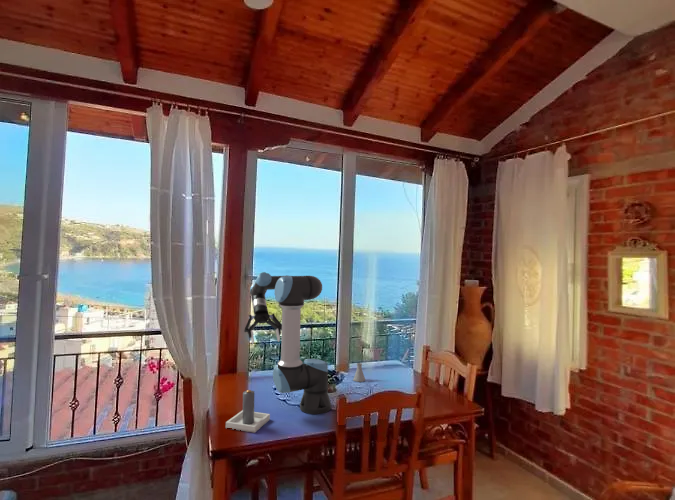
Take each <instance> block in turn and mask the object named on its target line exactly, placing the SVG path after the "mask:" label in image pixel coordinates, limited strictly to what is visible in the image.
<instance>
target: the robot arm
mask: <svg viewBox="0 0 675 500" xmlns="http://www.w3.org/2000/svg"><path fill="white" fill-rule="evenodd" d="M249 288H250V290H249V291H250V293H249V294H250V297H251V303H252V308H253V315H252V314H249V315H248V320H247V323H246V325H245V327H244V330H243V332H244V333H247V334H248V335H247V336H248V338H250V340H251V345H253V344H254V342H255V340H254V339H255V337H254V332H253V330H254V329H255V327H256V326H257V325H258V324H260V325H261V324H267V325H269V326H271V327H272V328H273V329H275V335H276V339H277V342H278V343H280V341H281V345H280V347H281V349H280V350H281V351H280V352H281V353H280V360H278V361H277V367H274V368H273V370H272V378H273V383H274V386H275V388H276V390H277V391H278V392H279V393H280V394H286V393H288V394H289V393H294V392H299V391H303V394H302V397H301V400H300V402H299V410H300V411H301V412H302V413H305V414H311V415H321V414H326V413H327V412H329V411H331V409H332V402H331V398H330V395H329V392H328V383H329V381H328V380H329V377H328V376H329V367H328V363H327V361H325V360H321V359H318V358H317V359H316V358H305V359H304V361H302V360H301V358H300V353H301V351H300V349H301V348H300V347H301V311H302V310H301V309H302V308H303V307H304V305H305V301H312V300H315V299H316V298H317V297H319V296H320V295H321V293H322V291H323V283H322V281H321V280H320V278H318V277H316V276H314V275H271V274H270V272H269V273H268V272H266V271H263V272H260V273H258V275H257V277H256V279H255V283H253V284H252V285H251V286H250V287H249ZM269 290H272V291H273V290H274V292H273V293H274V299H275V301H276V302H278V306H280V308H281V311H282V312H281V322H280V321H279V319H278V318H277V317H276V315H275V313H272V314H269V310H268V304H267V299H266V293H267V291H269ZM253 320H255V321H254V322H253V323H252V324H251V322H252V321H253ZM249 326H250V327H249Z"/></svg>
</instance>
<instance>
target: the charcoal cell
mask: <svg viewBox="0 0 675 500" xmlns="http://www.w3.org/2000/svg"><path fill="white" fill-rule="evenodd" d="M242 410H243V424H247V425H250V424H253V423H254V412H255V391H254V390H251V389H247V390H245V391H243V392H242Z"/></svg>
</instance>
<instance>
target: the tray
mask: <svg viewBox="0 0 675 500" xmlns="http://www.w3.org/2000/svg"><path fill="white" fill-rule="evenodd" d="M270 420H271V414H270V413H265V412H260V411H259V412H257V411H254V423H253V424H250V425H247V424H243V409H242V410H240V411H239V412H238V413H237V414H235V415H233V417H231V418H230V419H228V420H227V421H225V429H227V428H232V429H231V430H234V429H236V430H235V431H240V430H241V431H242V432H248V433H254V434H255V433H256V432H258V431H259V430H260V429H261V428H262V427H264V425H266V424H267V423H268V422H269V421H270Z"/></svg>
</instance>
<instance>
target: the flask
mask: <svg viewBox="0 0 675 500" xmlns="http://www.w3.org/2000/svg"><path fill="white" fill-rule="evenodd" d="M362 366H363V363H361V362H357V363H356V371H355V374H354V376H353V379H352V381H354V382H357V383H362V382H363V383H364V382H365V381H366V377H365V375H364V371H363V367H362Z"/></svg>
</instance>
